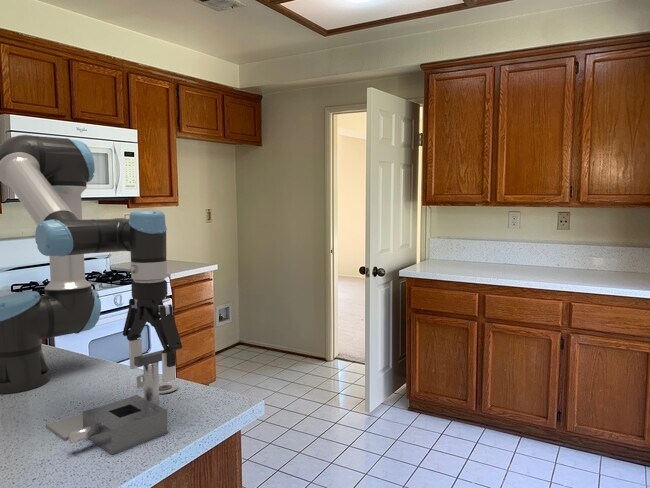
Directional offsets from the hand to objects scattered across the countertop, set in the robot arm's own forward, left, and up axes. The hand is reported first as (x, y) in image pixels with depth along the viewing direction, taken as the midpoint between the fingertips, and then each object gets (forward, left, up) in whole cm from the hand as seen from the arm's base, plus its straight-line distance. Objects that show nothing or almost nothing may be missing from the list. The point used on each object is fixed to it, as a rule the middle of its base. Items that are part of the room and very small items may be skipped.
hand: (151, 373), depth 114 cm
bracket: (-13, +10, -10) cm, 19 cm away
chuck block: (+5, -12, -9) cm, 16 cm away
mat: (-6, -14, -9) cm, 18 cm away
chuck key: (0, 0, -9) cm, 9 cm away
